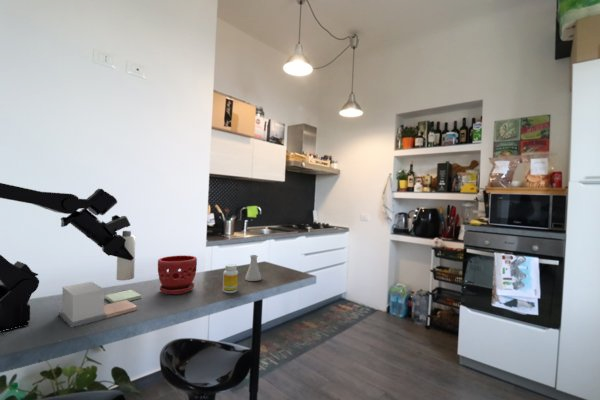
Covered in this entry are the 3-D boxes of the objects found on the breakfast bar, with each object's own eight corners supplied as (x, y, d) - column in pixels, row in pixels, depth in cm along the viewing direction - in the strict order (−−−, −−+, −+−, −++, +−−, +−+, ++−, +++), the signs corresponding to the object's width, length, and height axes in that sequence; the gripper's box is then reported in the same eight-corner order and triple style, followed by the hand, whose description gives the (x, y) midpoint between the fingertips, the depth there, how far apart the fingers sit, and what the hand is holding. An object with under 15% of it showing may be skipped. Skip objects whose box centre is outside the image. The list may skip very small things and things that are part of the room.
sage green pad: (114, 304, 91) (114, 301, 91) (104, 298, 96) (105, 295, 96) (141, 298, 97) (141, 295, 97) (131, 292, 102) (131, 289, 102)
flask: (242, 277, 125) (243, 254, 124) (258, 276, 128) (259, 253, 128) (247, 282, 118) (247, 258, 118) (264, 280, 121) (264, 257, 121)
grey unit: (71, 327, 75) (72, 296, 75) (58, 314, 82) (59, 286, 82) (106, 318, 81) (107, 289, 81) (92, 306, 89) (92, 280, 88)
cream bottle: (119, 281, 92) (121, 232, 92) (114, 278, 95) (115, 230, 95) (136, 278, 96) (138, 231, 96) (130, 275, 99) (131, 229, 99)
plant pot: (203, 288, 109) (204, 256, 109) (175, 299, 97) (176, 263, 97) (178, 282, 114) (179, 252, 114) (148, 292, 103) (149, 258, 102)
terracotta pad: (106, 318, 81) (106, 314, 81) (96, 310, 86) (96, 306, 86) (137, 309, 87) (137, 306, 87) (126, 302, 92) (126, 299, 92)
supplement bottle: (221, 289, 108) (221, 263, 108) (235, 287, 111) (235, 262, 111) (224, 294, 104) (225, 267, 103) (239, 292, 106) (240, 266, 106)
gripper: (118, 209, 86) (157, 243, 93) (108, 206, 100) (143, 236, 107) (84, 237, 81) (128, 271, 88) (79, 230, 95) (117, 259, 102)
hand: (130, 257), depth 96 cm, fingers closed on cream bottle, 5 cm apart
